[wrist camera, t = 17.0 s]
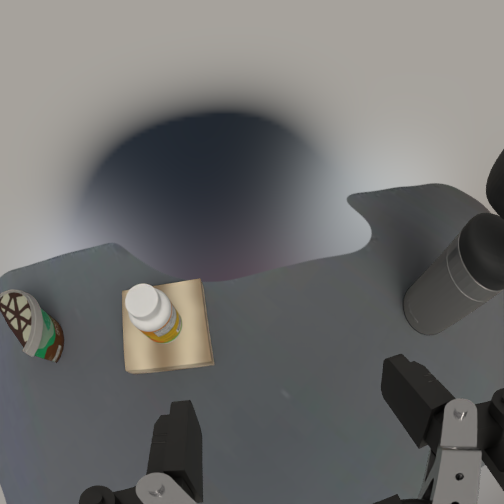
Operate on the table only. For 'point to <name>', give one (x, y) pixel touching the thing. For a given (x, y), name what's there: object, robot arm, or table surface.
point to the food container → (32, 325)
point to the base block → (184, 346)
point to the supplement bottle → (153, 313)
